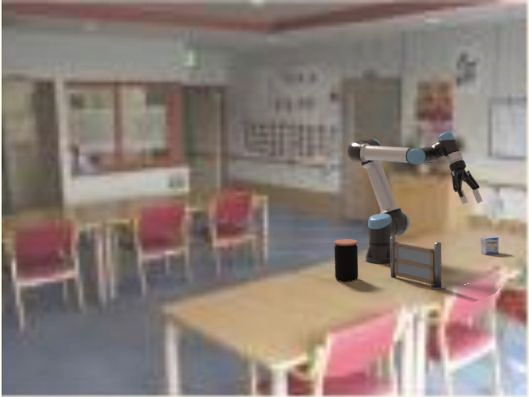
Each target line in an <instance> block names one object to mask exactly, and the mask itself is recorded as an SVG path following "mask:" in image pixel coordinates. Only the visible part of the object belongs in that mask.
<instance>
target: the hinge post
mask: <svg viewBox="0 0 529 397" xmlns="http://www.w3.org/2000/svg"><path fill="white" fill-rule="evenodd" d="M433 249H434V285H432V284H430V290H437V291H438V290H439V291H440V290H441V291H446V284H445V283H444V284H443V283H442V242H440V241H435V242H433Z"/></svg>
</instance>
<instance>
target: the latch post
mask: <svg viewBox="0 0 529 397" xmlns="http://www.w3.org/2000/svg"><path fill="white" fill-rule="evenodd" d="M394 242H396V236H392V237H390V262H389V263H390V277H391V278H396V277H397V276H395V266H394Z"/></svg>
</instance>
